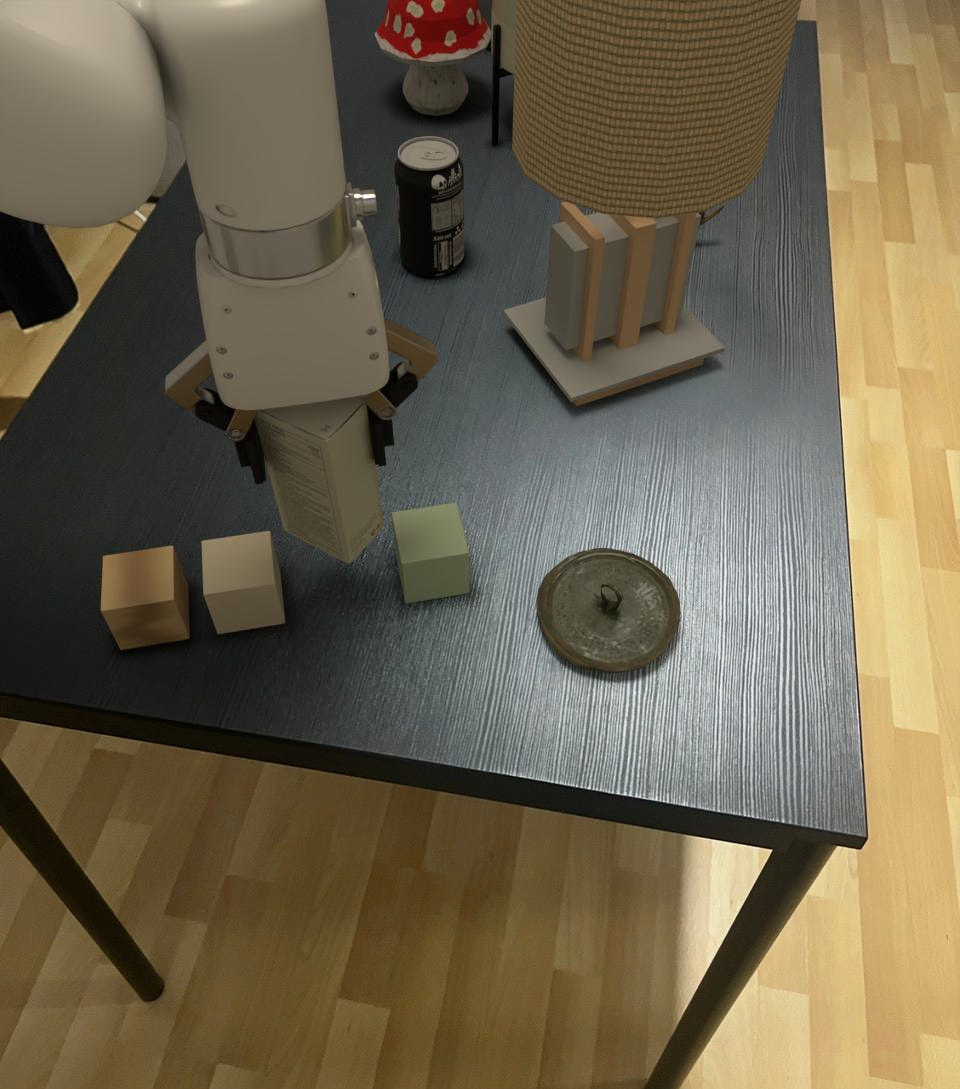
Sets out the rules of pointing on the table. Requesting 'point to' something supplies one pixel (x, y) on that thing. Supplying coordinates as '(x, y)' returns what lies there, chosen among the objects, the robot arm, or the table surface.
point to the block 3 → (431, 552)
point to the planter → (501, 52)
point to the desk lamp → (636, 169)
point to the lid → (608, 610)
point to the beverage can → (430, 205)
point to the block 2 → (242, 582)
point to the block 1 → (145, 597)
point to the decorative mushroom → (434, 49)
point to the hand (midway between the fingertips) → (319, 458)
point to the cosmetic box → (323, 473)
